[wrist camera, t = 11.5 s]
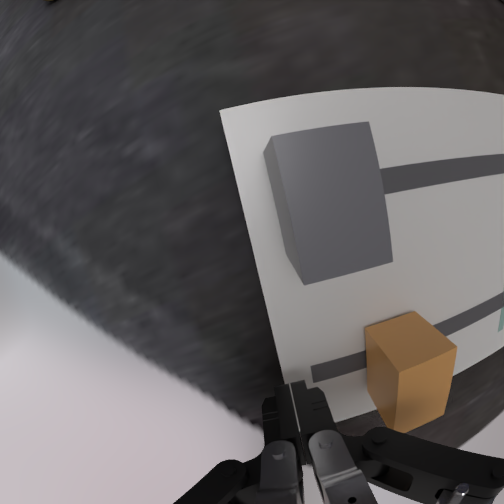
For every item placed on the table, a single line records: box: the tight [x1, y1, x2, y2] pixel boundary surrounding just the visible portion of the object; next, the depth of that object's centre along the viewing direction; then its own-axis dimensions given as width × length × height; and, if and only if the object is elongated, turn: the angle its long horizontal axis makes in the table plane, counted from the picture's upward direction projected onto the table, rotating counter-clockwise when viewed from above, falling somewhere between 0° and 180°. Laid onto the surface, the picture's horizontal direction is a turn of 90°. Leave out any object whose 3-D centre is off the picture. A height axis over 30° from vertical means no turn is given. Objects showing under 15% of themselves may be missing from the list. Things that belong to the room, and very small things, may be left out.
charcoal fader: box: [263, 121, 393, 285], centre depth 10 cm, size 4×3×4 cm
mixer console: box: [219, 87, 504, 431], centre depth 14 cm, size 18×20×3 cm
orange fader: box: [365, 311, 457, 433], centre depth 12 cm, size 4×3×4 cm
